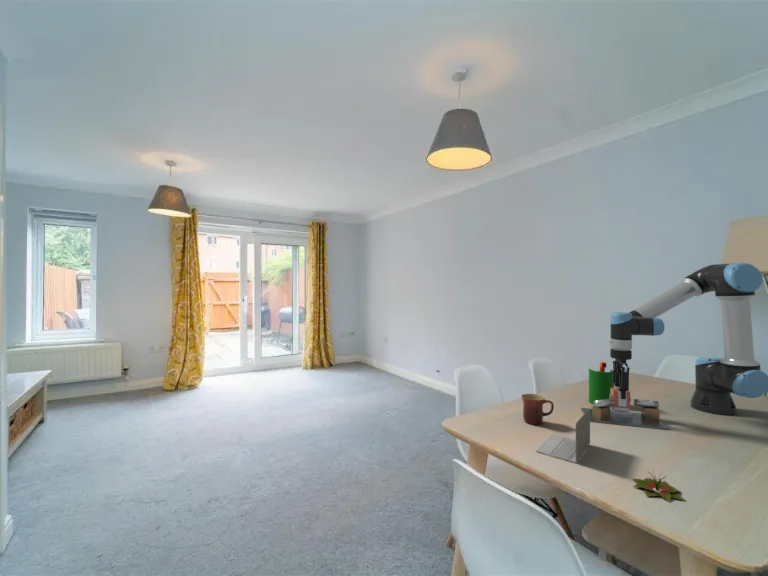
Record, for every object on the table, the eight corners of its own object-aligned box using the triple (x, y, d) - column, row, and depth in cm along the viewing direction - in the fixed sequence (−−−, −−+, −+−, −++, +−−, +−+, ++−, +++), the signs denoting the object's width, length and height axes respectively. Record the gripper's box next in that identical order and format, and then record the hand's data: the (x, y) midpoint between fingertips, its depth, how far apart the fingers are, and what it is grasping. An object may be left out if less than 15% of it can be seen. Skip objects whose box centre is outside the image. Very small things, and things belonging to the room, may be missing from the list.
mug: (520, 424, 142) (520, 398, 142) (522, 416, 150) (522, 392, 150) (553, 429, 137) (553, 402, 137) (553, 421, 145) (553, 396, 145)
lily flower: (642, 501, 92) (643, 484, 92) (622, 476, 103) (622, 461, 103) (697, 508, 89) (697, 490, 89) (670, 482, 101) (670, 466, 101)
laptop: (552, 435, 132) (552, 400, 132) (590, 445, 124) (590, 408, 124) (535, 452, 119) (535, 413, 118) (577, 465, 110) (577, 423, 110)
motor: (608, 400, 171) (608, 359, 171) (618, 407, 162) (618, 363, 162) (586, 400, 172) (586, 359, 172) (595, 406, 163) (595, 363, 163)
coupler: (628, 405, 151) (628, 389, 151) (631, 409, 147) (631, 392, 147) (608, 403, 153) (608, 387, 153) (611, 406, 149) (611, 390, 149)
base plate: (652, 416, 150) (652, 397, 150) (668, 429, 136) (668, 408, 136) (581, 409, 159) (581, 391, 159) (588, 421, 145) (588, 401, 145)
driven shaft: (607, 414, 150) (607, 397, 150) (615, 418, 147) (615, 400, 147) (592, 416, 148) (592, 399, 148) (600, 420, 144) (600, 402, 144)
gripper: (605, 345, 159) (604, 397, 159) (616, 352, 143) (616, 410, 143) (624, 346, 157) (624, 398, 157) (638, 353, 140) (638, 412, 140)
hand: (620, 404), depth 150 cm, fingers closed on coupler, 4 cm apart
